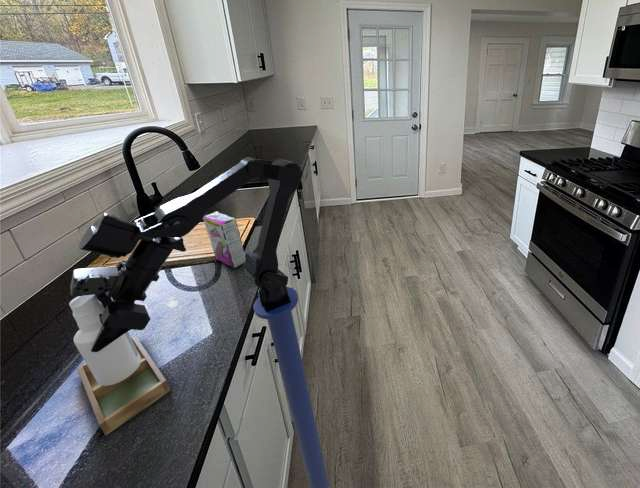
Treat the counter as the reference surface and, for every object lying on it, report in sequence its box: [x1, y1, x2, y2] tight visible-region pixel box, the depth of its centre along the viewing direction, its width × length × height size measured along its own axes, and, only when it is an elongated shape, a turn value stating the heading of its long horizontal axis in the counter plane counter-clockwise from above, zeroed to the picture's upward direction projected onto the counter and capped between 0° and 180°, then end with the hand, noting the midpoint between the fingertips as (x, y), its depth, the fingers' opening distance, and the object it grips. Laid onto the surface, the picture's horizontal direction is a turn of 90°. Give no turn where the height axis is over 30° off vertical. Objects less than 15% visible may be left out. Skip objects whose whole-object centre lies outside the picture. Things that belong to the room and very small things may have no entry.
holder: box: [76, 335, 172, 437], centre depth 64 cm, size 10×19×3 cm, turn 53°
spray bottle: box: [68, 295, 141, 386], centre depth 59 cm, size 7×7×18 cm
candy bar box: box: [202, 211, 246, 269], centre depth 102 cm, size 11×5×16 cm, turn 58°
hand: (92, 340), depth 58 cm, fingers closed on spray bottle, 7 cm apart
